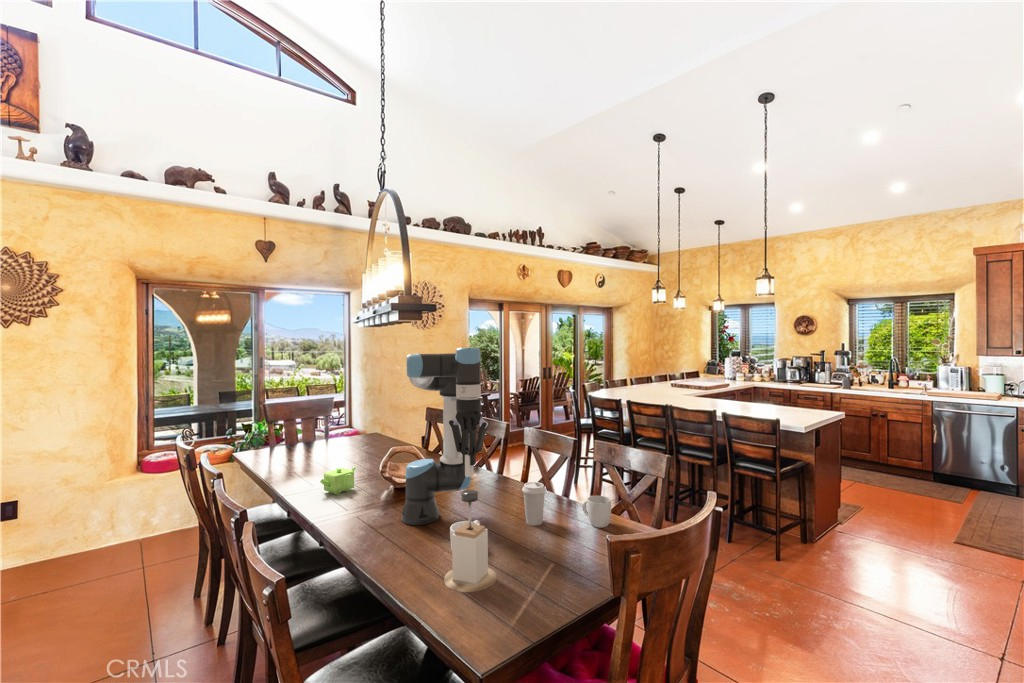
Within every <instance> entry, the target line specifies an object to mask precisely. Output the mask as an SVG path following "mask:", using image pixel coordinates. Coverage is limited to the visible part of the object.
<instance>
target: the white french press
mask: <svg viewBox="0 0 1024 683" xmlns="http://www.w3.org/2000/svg"><path fill="white" fill-rule="evenodd" d="M488 530H489V529H488V528H486V526H485V525H482V524H480V525H475V524H472V530H468V523H465V524H463V525H462V526H461V527H460V528H458V529H457V530H456V531H455V533H454V534H453V535H452V550H451V554H452V555H451V557H452V562H451V565H452V566H451V568H452V569H451V570H452V581H453V582H457V583H462V584H466V585H471V586H475V587H476V586H477V585H478V584H479V583H480V582H481V581H482V580H483V579H484V578H485V577H486V576H487V574H488V568H489V556H488V555H489V550H488V548H489V546H488V542H489V541H488V540H489V536H488V535H489V533H488Z"/></svg>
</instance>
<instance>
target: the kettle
mask: <svg viewBox="0 0 1024 683" xmlns="http://www.w3.org/2000/svg"><path fill="white" fill-rule="evenodd" d="M357 468H358V466H354V467H352V469H348V468H345V467H342V468H341V467H339V468H336V469H334V470H331V471H327V472H323V478H322V479H321V480H320V482H319V483H320V484H322V485H323V490H324V491H326V492H328V494H333V495H335V496H340V494H341V493H342V492H345V493H349V492H350V491H351V490H352V489H354V488H355V471H356V469H357ZM350 489H351V490H350Z"/></svg>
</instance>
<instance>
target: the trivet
mask: <svg viewBox="0 0 1024 683" xmlns="http://www.w3.org/2000/svg"><path fill="white" fill-rule="evenodd" d="M443 578H444V579H443V582H444V584H445V586H446V587H447V588H449V589H451V590H453V591H457V592H460V593H472V592H473V593H474V592H480V591H483V590H485V589H488V588H490V587H491V586H493V585H494V584H495V583H496V580H497V578H498V577H497V573H496V571H494V570H493V569H492V568H491V567H488V574H487V576H486V577H485V578H484V579H483V580H482V581H481V582H480V583H479V584H478V585H477V586H476V587H475V586H471V585H466V584H462V583H457V582H453V581H452V569H451V570H449V571H447V573H446V574H445V575H444V577H443Z"/></svg>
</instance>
